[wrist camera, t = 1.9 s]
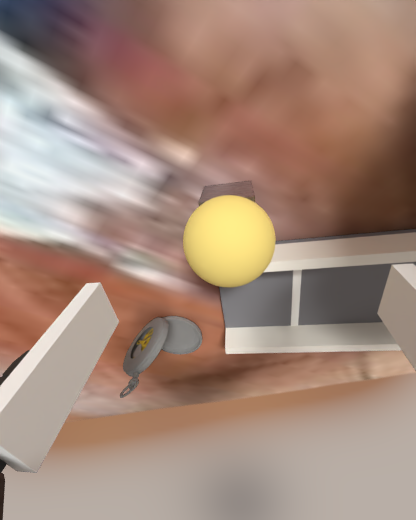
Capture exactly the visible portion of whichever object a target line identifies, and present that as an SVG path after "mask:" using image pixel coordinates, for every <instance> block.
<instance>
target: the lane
mask: <svg viewBox="0 0 416 520" xmlns="http://www.w3.org/2000/svg"><path fill="white" fill-rule="evenodd" d="M412 263H413V264H414V265H415V266H416V229H409V230H397V231H386V232H375V233H364V234H352V235H341V236H330V237H319V238H307V239H296V240H285V241H275V250H274V254H273V257H272V260H271V262H270V264H269V265H268V267H267V268H266V270H265V271H264V272H263V273H262V274H261V275H260V276H259V277H258V278H256V279H255V280H253V281H252V282H250V283H248V284H245V285H242V286H238V287H220V286H219V289H220V295H221V302H222V308H223V314H224V320H225V327H226V335H225V351H226V354H246V353H294V352H342V351H390V350H401V348H400V347H399V345H398V344H397V342H396V341H395V339H394V338H393V336H392V335H391V333H390V332H389V330H388V329H387V327H386V326H385V324H384V323H383V321H382V320H381V318H380V317H379V315H378V314H377V313H378V309H379V306H380V302H381V299H382V296H383V292H384V289H385V286H386V282H387V279H388V276H389V272H390V269H391V266H392V265H395V264H412Z"/></svg>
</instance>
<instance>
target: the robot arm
mask: <svg viewBox="0 0 416 520" xmlns="http://www.w3.org/2000/svg"><path fill="white" fill-rule="evenodd" d="M377 314H378V315H379V317H380V318H381V320H382V321H383V323H384V324H385V326H386V327H387V329H388V330H389V332H390V333H391V335H392V336H393V338H394V339H395V341H396V342H397V344H398V345H399V347H400V348H401V350H402V351H403V353H404V354H405V356H406V357H407V359H408V360H409V362H410V363H411V365H412V366H413V368H414V369H415V371H416V266H415V265H414V264H413V263H412V264H395V265H392V266H391V269H390V272H389V276H388V279H387V282H386V286H385V289H384V292H383V296H382V299H381V302H380V306H379V309H378V313H377ZM118 323H119V320H118V318H117V316H116V314H115V312H114V310H113V308H112V306H111V304H110V302H109V300H108V298H107V295H106V293H105V291H104V289H103V287H102V285H101V283H86V285H85V286H84V287H83V288H82V289H81V291H80V292H79V293H78V294H77V295H76V297H75V298H74V299H73V300H72V301H71V302H70V304H69V305H68V306H67V307H66V308H65V310H64V311H63V312H62V313H61V314H60V316H59V317H58V318H57V319H56V320H55V321H54V323H53V324H52V325H51V326H50V327H49V329H48V330H47V331H46V332H45V333H44V335H43V336H42V337H41V338H40V339H39V341H38V342H37V343H36V344H35V345H34V346H33V348H32V349H31V350H28V351H26V352H25V353H24V354H23V355H21V356H20V357H19V358H18V359H16V360H15V361H14V362H13V363H12V364H11V365H10V366H9V368H8V369H7V370H6V371H5V372H4V373H3V376H2V377H0V520H2V519H3V503H4V487H5V479H4V474H3V473H1V472H2V470H3V469H4V467H5V466H6V464H7V465H9V466H10V467H12V468H13V469H15V470H16V471H21V472H33V473H37V472H38V470H39V468H40V466H41V464H42V463H43V461H44V459H45V457H46V455H47V453H48V451H49V449H50V448H51V446H52V444H53V442H54V440H55V439H56V437H57V435H58V433H59V431H60V429H61V428H62V426H63V424H64V422H65V420H66V418H67V417H68V415H69V413H70V411H71V409H72V407H73V405H74V404H75V402H76V400H77V398H78V396H79V394H80V393H81V391H82V389H83V387H84V385H85V383H86V382H87V380H88V378H89V376H90V374H91V372H92V371H93V369H94V367H95V365H96V363H97V361H98V359H99V358H100V356H101V354H102V352H103V350H104V348H105V347H106V345H107V343H108V341H109V339H110V337H111V336H112V334H113V332H114V330H115V328H116V326H117V325H118Z"/></svg>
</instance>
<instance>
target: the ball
mask: <svg viewBox="0 0 416 520" xmlns="http://www.w3.org/2000/svg"><path fill="white" fill-rule="evenodd" d="M275 241H276V240H275V232H274V227H273V225H272V222H271V220H270V218H269V217H268V215H267V214H266V212H265V211H264V210H263V209H262V208H261V207H260V206H259V205H257V204H256V203H255V202H253V201H251V200H249V199H247V198H244V197H241V196H235V195H224V196H218V197H215V198H212V199H210V200H208V201H206V202H205V203H203V204H202V205H200V206H199V207H198V208H197V209H196V210H195V211H194V212H193V214H192V215H191V217H190V218H189V220H188V222H187V224H186V227H185V230H184V236H183V247H184V253H185V256H186V259H187V261H188V263H189V265H190V266H191V268H192V269H193V271H194V272H195V273H196V274H197V275H198V276H199V277H201V278H202V279H203V280H205V281H206V282H208V283H210V284H213V285H216V286H220V287H238V286H242V285H245V284H248V283H250V282H252V281H253V280H255V279H256V278H258V277H259V276H260V275H261V274H262V273H263V272H264V271H265V270H266V268H267V267H268V265H269V264H270V262H271V260H272V257H273V254H274V250H275Z"/></svg>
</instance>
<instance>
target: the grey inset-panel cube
mask: <svg viewBox="0 0 416 520" xmlns="http://www.w3.org/2000/svg"><path fill="white" fill-rule="evenodd" d="M224 195H235V196H241V197H244V198H247V199H249V200H251V201H253V202H255V195H254V191H253V187H252V182H251V181H244V182H236V183H229V184H221V185H213V186H205V187H204V188H203V191H202V194H201V197H200V200H199V206H200V205H202V204H203V203H205V202H206V201H208V200H210V199H212V198H215V197H218V196H224Z"/></svg>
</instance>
